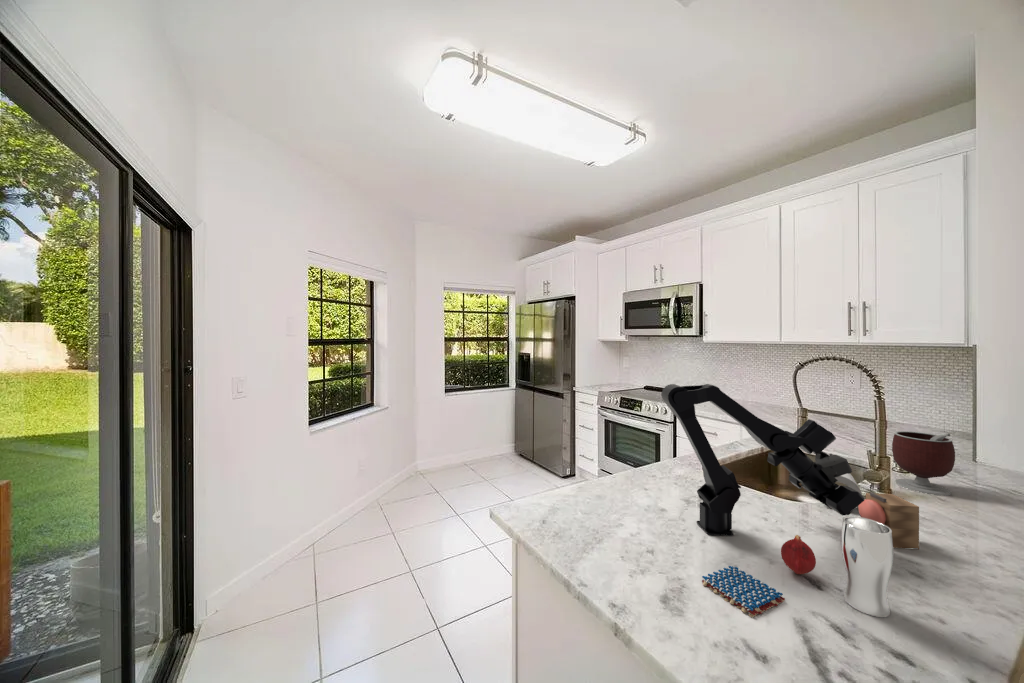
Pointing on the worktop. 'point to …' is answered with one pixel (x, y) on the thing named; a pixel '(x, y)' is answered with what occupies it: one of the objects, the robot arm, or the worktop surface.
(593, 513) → the worktop surface
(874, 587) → the beer glass
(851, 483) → the toilet paper
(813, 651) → the worktop surface
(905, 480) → the mate gourd
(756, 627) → the worktop surface
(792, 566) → the onion
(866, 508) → the knob
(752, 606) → the woven mat
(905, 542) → the catch block
